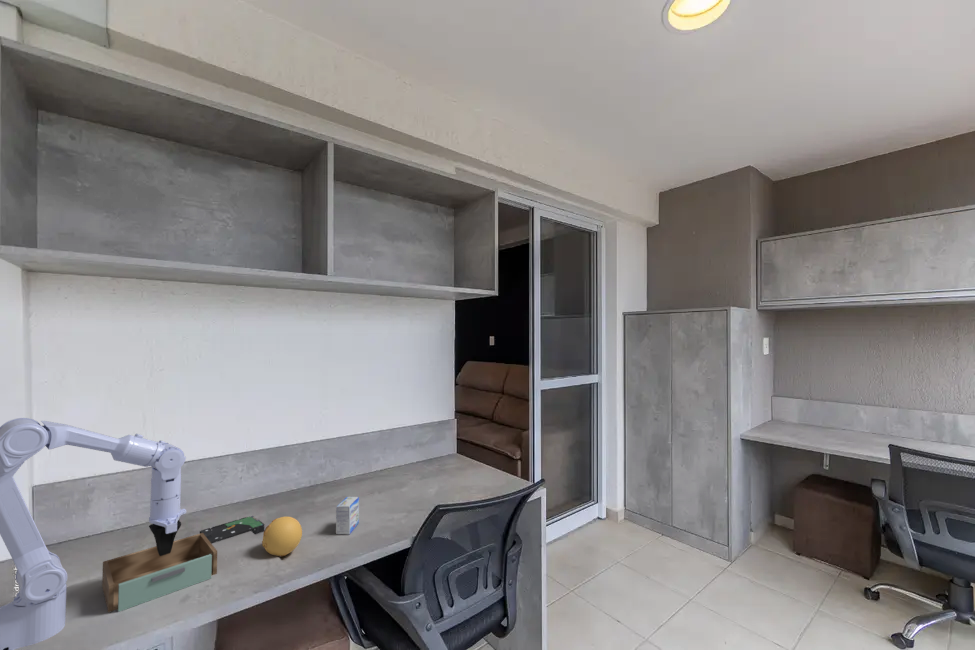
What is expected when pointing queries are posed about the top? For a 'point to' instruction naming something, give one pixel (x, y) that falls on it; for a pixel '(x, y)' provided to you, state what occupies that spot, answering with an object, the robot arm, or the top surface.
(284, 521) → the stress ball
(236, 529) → the disk drive
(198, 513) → the top surface
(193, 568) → the green flat rectangular panel
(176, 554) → the wooden drawer
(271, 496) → the top surface
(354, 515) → the medicine box
